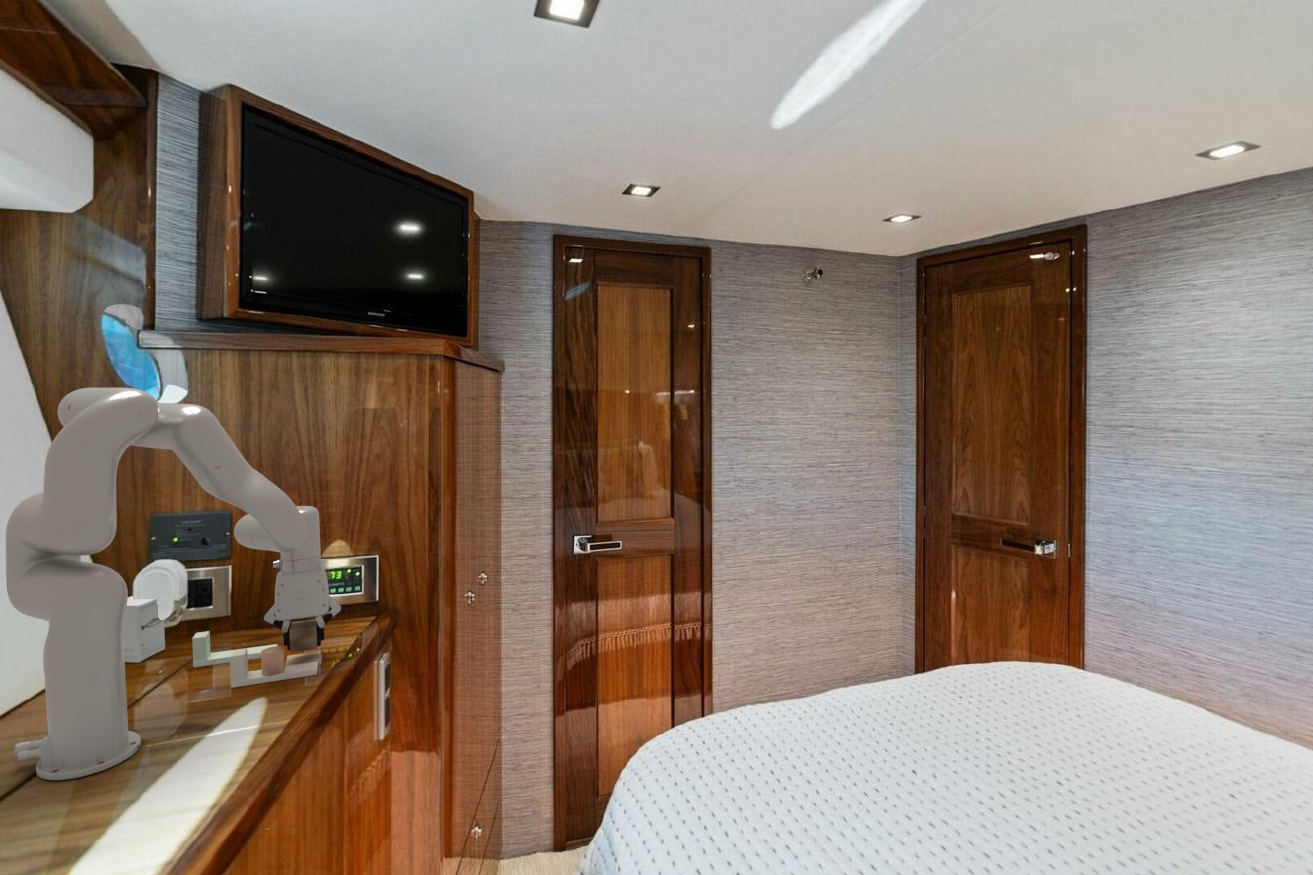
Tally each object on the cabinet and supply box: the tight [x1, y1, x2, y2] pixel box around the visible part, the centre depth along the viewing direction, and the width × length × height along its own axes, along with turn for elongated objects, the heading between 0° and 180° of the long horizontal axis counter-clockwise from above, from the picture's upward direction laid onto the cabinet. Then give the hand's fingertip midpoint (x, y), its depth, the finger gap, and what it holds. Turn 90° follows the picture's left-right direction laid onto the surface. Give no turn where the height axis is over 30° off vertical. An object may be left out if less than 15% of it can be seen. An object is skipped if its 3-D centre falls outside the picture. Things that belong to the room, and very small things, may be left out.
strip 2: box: [229, 647, 319, 689], centre depth 131 cm, size 15×4×6 cm, turn 114°
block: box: [289, 618, 318, 654], centre depth 139 cm, size 5×5×5 cm
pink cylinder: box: [260, 645, 285, 676], centre depth 131 cm, size 4×4×4 cm
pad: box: [284, 650, 323, 666], centre depth 139 cm, size 7×7×1 cm
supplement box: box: [123, 595, 166, 663], centre depth 142 cm, size 7×7×13 cm
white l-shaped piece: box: [191, 630, 278, 668], centre depth 140 cm, size 15×4×6 cm, turn 114°
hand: (304, 645), depth 139 cm, fingers closed on block, 5 cm apart
